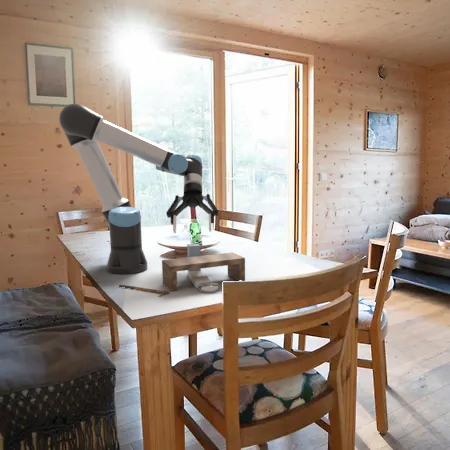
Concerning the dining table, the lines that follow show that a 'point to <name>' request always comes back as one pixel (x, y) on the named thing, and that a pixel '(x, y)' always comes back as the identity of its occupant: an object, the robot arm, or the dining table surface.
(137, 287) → the tomahawk
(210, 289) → the disc
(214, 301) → the dining table surface
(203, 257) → the bench
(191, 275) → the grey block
